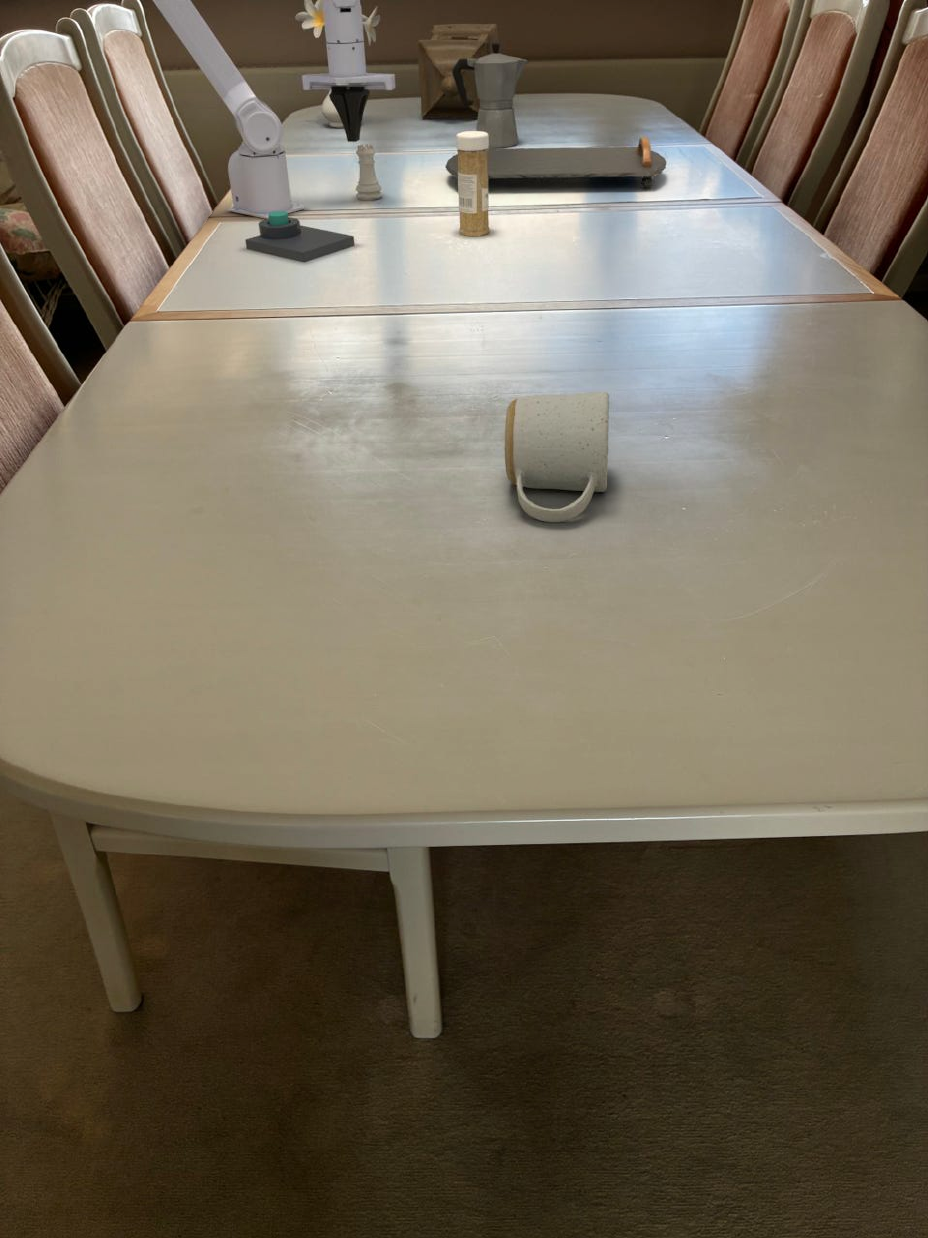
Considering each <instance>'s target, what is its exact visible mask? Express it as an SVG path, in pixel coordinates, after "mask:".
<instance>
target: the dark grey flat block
mask: <svg viewBox="0 0 928 1238" xmlns="http://www.w3.org/2000/svg"><path fill="white" fill-rule="evenodd" d="M288 219H289V223H288V224H285V225H269V219H262V220H261V221H260V222H258V229H259V235H256V236H252V237H249V238H246V239H245V247H246V250H249V251H254V252H258V253H261V254H267V255H271V256H275V257H279V258H284V259H288V260H293V261H296V262H301V263H307V262H310V261H313V260H317V259H319V258H322V257H325V256H328V255H331V254H335V253H337V252H339V251H343V250H346V249H349V248H352V247H355V244H356V243H355V236H354V235H350V234H345V233H339V232H334V231H329V230H325V229H320V228H316V227H311V226H305V225H301V222H300V220H299V219H298V218H296V217H291V216H288Z"/></svg>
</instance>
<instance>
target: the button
mask: <svg viewBox="0 0 928 1238" xmlns="http://www.w3.org/2000/svg"><path fill="white" fill-rule="evenodd" d="M288 217H289V213H287V212H284V211H275V212H271V213H269V214H268V218H269V225H285V224H288V223H289V219H288Z"/></svg>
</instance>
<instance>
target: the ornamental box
mask: <svg viewBox="0 0 928 1238" xmlns="http://www.w3.org/2000/svg"><path fill="white" fill-rule="evenodd" d="M430 38H431V39H420V40H418V42H417V59H418V60H417V61H418V77H419V79H418V80H419V93H420V104H421V105H420V107H421V109H420V110H421V117H422V119H478V112H479V109H480V99H478V95H477V88H476V81H475V74H474V70H467V69H463V70H462V71H461V75H462V77H463V84H464V87H465V89H466V96H467V99H468V100H473V104H472V105H471V106H466V105H463V104H462V101H461V98H460V95H459V92H458V89H457V86H456V83H455V80H454V77H453V74H452V70H453V67H454V66H455V65H456V63H457V62H458V60H459V59H466V58H467V59H479V58H482V57H484V56H487V55H490V54H493V49H492V44H493V43H499V39H498V38H499V37H498V25H497V24H496V23H486V24H485V23H484V24H483V23H482V24H479V23H451V24H448V23H447V24H435V25H433V27H432V29H431V30H430Z"/></svg>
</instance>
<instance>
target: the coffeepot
mask: <svg viewBox="0 0 928 1238" xmlns="http://www.w3.org/2000/svg"><path fill="white" fill-rule="evenodd" d="M500 46H501V44H500V43H499V42H498V43H493V44H492V49H493V54H490V55H487V56H484V57H482V58H479V59H467V58H466V59H459V60H458V62H457V63H456V65H455V66H454V67H453V70H452V74H453V77H454V80H455V83H456V86H457V89H458V92H459V95H460V98H461V101H462V104H463V105H466V106H471V105H472V104H473V100H468V99H467V96H466V89H465V87H464V84H463V77H462V75H461V71H462V70H463V69H467V70H474V74H475V81H476V88H477V95H478V99H480V109H479V112H478V118H477V121H476V128H475V131H482V132H486V133H488V136H489V147H488V148H487V149H507V148H512V147H515V146H517V145H518V142H519V137H518V129H517V123H516V114H515V108H514V107H513V106H514V100H513V99H515V94H516V87H517V82H518V80H519V79H520V76H521V74H522V72H523V70H524V69H525V67H526V66H527V65H528V64H529V61H528V60H527V59H525V58H520V57H515V56H510V55H506V54H502V53H499V52H500Z"/></svg>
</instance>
